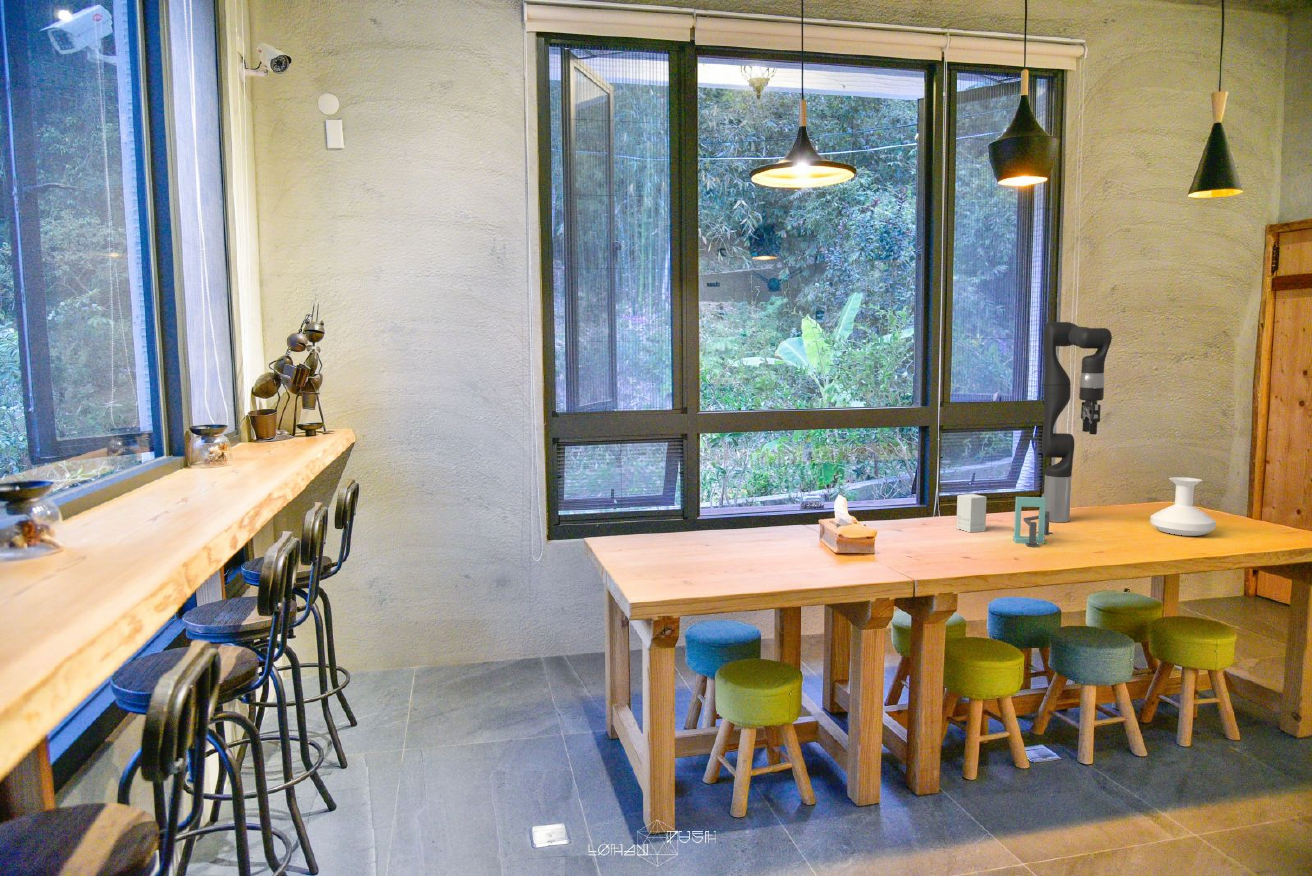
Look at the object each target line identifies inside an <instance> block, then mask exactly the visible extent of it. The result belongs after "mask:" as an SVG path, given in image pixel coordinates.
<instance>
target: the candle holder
mask: <svg viewBox="0 0 1312 876" xmlns="http://www.w3.org/2000/svg"><path fill="white" fill-rule="evenodd" d="M1168 480H1170V482H1172V483H1173V484H1174V485H1175V495H1174V497H1175V498H1174V504H1172V505H1170V506H1168V507H1167V506H1166V507H1165V508H1163V509H1160V510H1158V511H1156V512H1155V513H1153V514H1152V515H1150V520H1149V523H1150V524H1151V525H1153V527H1155V528H1156V529H1157V530H1158V531H1160V532H1162V533H1163V532H1164V533H1166V534H1169V533H1170V535H1174V534H1175V536H1181V535H1182V536H1184V537H1196V536H1198V537H1199V536H1204V535H1207V534H1209V533H1210V532H1212V531H1214V530H1215V529H1216V528H1217V521H1216V520H1215V519H1214V518H1213V517H1211V515H1210V514H1207V513H1205V512H1204V511H1202V510H1201V509H1199V508H1197V507H1195V506H1194V493H1195V486H1197V485H1198V484H1200V483H1201V482H1203V479H1200V478H1194V477H1186V476H1185V477H1183V476H1180V477H1179V476H1176V477H1175V476H1173V477H1169V478H1168ZM1182 536H1181V537H1182Z"/></svg>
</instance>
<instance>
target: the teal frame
mask: <svg viewBox="0 0 1312 876" xmlns="http://www.w3.org/2000/svg"><path fill="white" fill-rule="evenodd" d="M1045 505H1046V498H1042V496H1041V497H1038V496H1037V497H1036V496H1035V497H1034V496H1032V497H1031V496H1015V506H1014V530H1013V531H1014V532H1013V535H1012V537H1013V538H1012V541H1013V542H1014V543H1015V544H1025V543H1029V535H1028V536H1027V535H1025V536H1024V535H1023V536H1022V535H1021V527H1022V526H1021V524H1022V507H1024V508H1025V507H1027V508H1038V515H1039V519H1037V520H1038V521H1037V523H1038V525H1037V532H1038V534H1037V536H1036V543H1042V544H1041V545H1045V544H1046V540H1045V535H1044V526H1045ZM1044 543H1045V544H1044Z"/></svg>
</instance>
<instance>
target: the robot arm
mask: <svg viewBox="0 0 1312 876" xmlns="http://www.w3.org/2000/svg"><path fill="white" fill-rule="evenodd" d="M1042 335H1043V336H1042V341H1043V342H1042V343H1043V344H1042V345H1043V355H1044V356H1043V358H1044V373H1043V374H1044V376H1043V377H1044V378H1043V425H1042V426H1043V427H1042V436H1041V453H1042V455H1043V457H1045V458H1049V459H1051V458H1053V459H1054V458H1055V459H1057V458H1058V459H1060V460H1059V462H1057V463H1054V464H1053V465H1049V466H1046V467H1045V469H1044V485H1043V487H1044V488H1043V493H1042V494H1041V497H1042V498H1046V505H1045V511H1047V512H1050V516H1049V522H1050V523H1051V522H1052V523H1068V522H1070V517H1071V516H1070V513H1071V496H1072V495H1071V494H1072V493H1071V492H1072V475H1073V473H1072V472H1073V464H1074V462H1073V461H1074V453H1075V438H1074V436H1073V434H1071V433H1066V432H1065V433H1058V432H1056V433H1055V432H1054V428H1055V425H1056V423H1057V420H1058V418H1059V417H1060V416H1061V414H1062V412H1063V411H1064V409H1066V408H1067V407H1066V406H1067V405H1068V404H1069V402H1070V400H1071V394H1072V393H1071V383H1072V382H1071V379H1070V376H1069V375H1068V373H1067V372H1066V370H1065V369H1064V368H1063V366H1062V364H1061V363H1060V361H1059V358H1058V356H1057V352H1056V351H1057V350H1056V347H1071V346H1076V347H1078V348H1080V349H1085V350H1086V349H1089V350H1090V349H1091V350H1092V349H1093V350H1094V349H1095V350H1096V351H1095V353H1093V354H1091V355H1086V356H1084V357H1083V358H1082V359H1081V373H1080V380H1079V392H1078V393H1079V394H1078V395H1079V396H1078V397H1079V400H1080V401H1082V402H1081V408H1080V409H1081V410H1080V419H1081V420H1082V428H1081V429H1082V432H1084V433H1089V434H1090V435H1097V433H1098V423H1100V422H1101V407H1102V405H1101V404H1099V403H1098V402H1099V401H1103V400H1104V393H1105V362H1106V358H1107V354H1108V352H1109V348H1110V346H1111V343H1112V339H1113V335H1112V332H1111V330H1110V329H1108V328H1105V327H1088V326H1087V327H1086V326H1085V327H1084V326H1079V325H1076V324H1075V323H1073V322H1069V321H1048V322H1047V323H1045V325H1044V327H1043V333H1042Z"/></svg>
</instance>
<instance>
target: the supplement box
mask: <svg viewBox="0 0 1312 876" xmlns="http://www.w3.org/2000/svg"><path fill="white" fill-rule="evenodd" d="M986 526H987V496H984V495H979V494H975V493H967V494H958V495H957V500H956V529H957V530H959V529H961V530H960V531H962V530H964V531H963V532H966V531H967V533H981V531H982V532H986V529H987V528H986Z"/></svg>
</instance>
